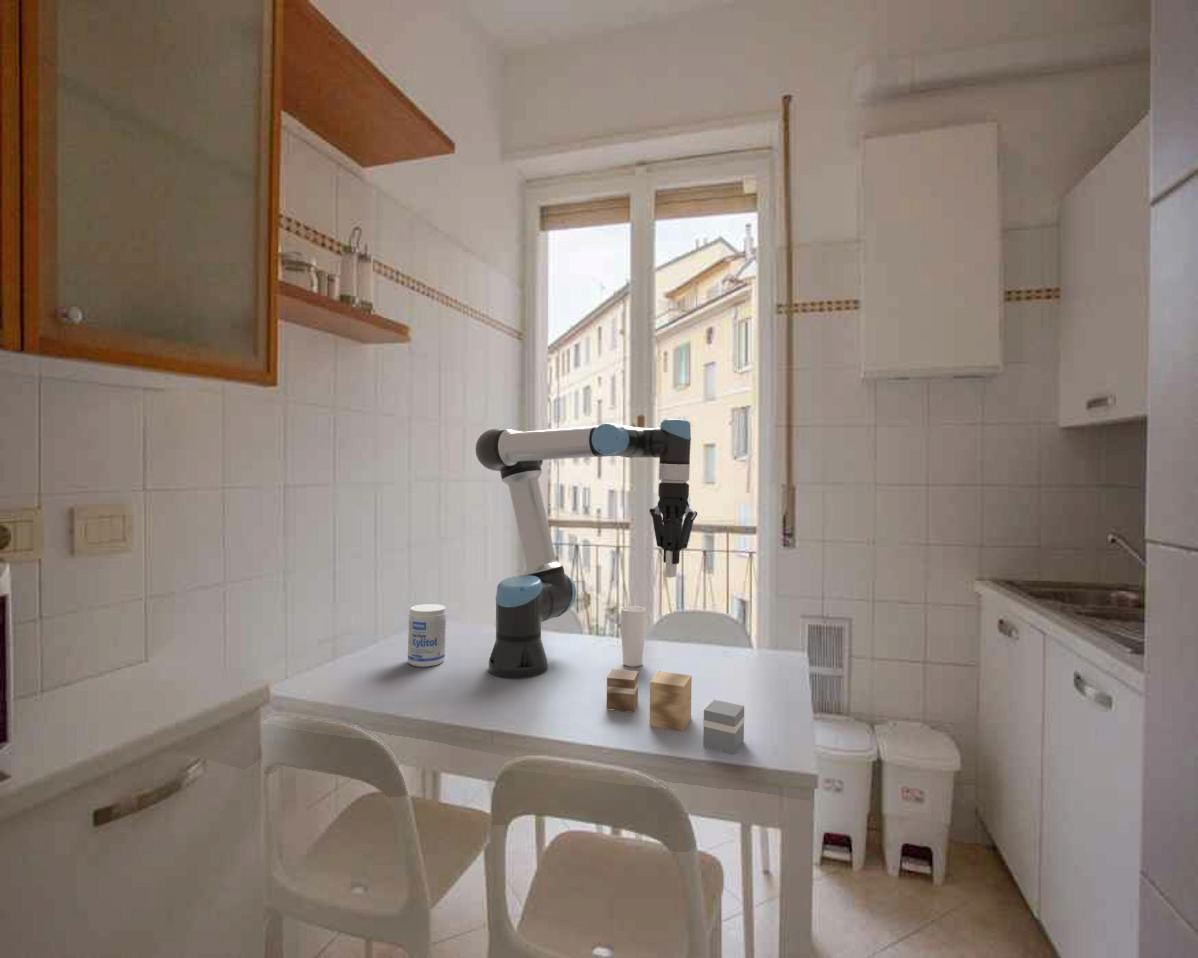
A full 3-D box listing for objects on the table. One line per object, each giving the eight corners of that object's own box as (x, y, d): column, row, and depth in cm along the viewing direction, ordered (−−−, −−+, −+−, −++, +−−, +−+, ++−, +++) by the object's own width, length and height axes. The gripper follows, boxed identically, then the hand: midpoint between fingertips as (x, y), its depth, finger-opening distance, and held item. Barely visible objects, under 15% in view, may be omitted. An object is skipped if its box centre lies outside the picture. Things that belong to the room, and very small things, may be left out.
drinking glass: (637, 670, 156) (638, 612, 156) (615, 665, 160) (616, 609, 160) (649, 663, 162) (650, 607, 162) (627, 658, 166) (628, 604, 165)
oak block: (649, 725, 122) (650, 681, 122) (658, 712, 129) (659, 671, 129) (683, 731, 120) (683, 686, 120) (690, 718, 126) (691, 675, 126)
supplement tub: (409, 669, 154) (410, 612, 154) (406, 658, 163) (406, 604, 163) (448, 665, 158) (448, 609, 158) (442, 655, 167) (443, 602, 166)
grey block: (702, 746, 113) (703, 709, 113) (713, 734, 118) (714, 699, 118) (734, 754, 110) (735, 716, 110) (744, 741, 115) (744, 705, 115)
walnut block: (606, 709, 130) (606, 677, 130) (611, 699, 136) (611, 668, 136) (634, 712, 129) (634, 680, 129) (638, 701, 135) (638, 670, 135)
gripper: (704, 483, 147) (701, 578, 148) (661, 481, 156) (658, 571, 156) (688, 482, 142) (684, 582, 142) (643, 480, 150) (640, 574, 151)
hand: (670, 576), depth 149 cm, fingers closed
